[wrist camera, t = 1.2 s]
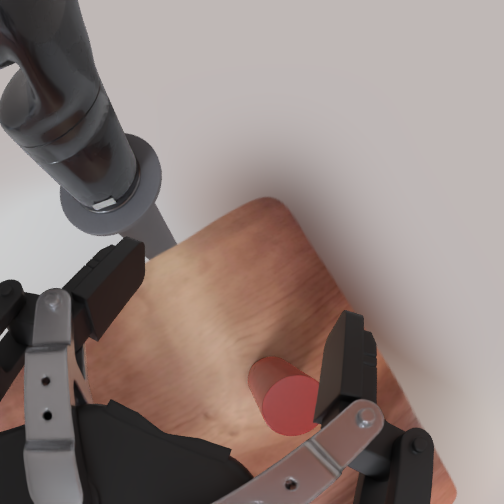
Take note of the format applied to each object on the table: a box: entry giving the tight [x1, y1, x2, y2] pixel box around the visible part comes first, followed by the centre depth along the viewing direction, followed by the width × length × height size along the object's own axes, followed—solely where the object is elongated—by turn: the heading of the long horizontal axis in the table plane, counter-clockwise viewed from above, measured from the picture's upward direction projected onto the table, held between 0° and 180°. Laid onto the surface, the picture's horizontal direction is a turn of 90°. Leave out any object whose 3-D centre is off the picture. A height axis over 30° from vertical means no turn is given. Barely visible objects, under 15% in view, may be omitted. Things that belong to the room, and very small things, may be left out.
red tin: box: [248, 357, 319, 436], centre depth 26 cm, size 5×5×11 cm
